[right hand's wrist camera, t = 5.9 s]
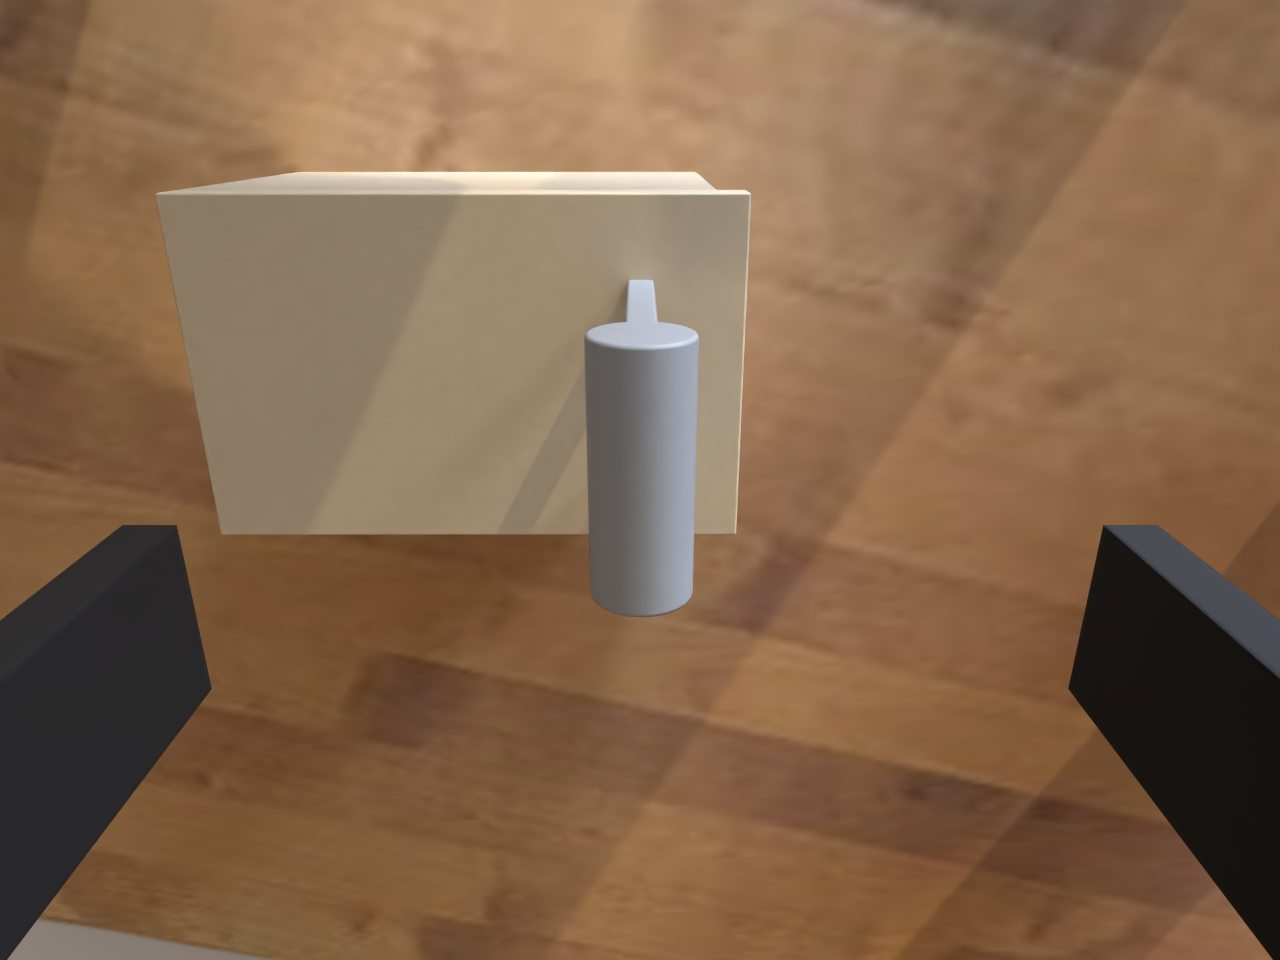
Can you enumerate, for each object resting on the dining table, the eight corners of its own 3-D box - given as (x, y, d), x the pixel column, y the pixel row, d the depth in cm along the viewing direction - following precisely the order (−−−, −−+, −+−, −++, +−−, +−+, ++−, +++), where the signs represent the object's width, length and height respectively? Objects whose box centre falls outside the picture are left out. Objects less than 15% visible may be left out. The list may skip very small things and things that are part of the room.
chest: (696, 171, 32) (717, 189, 24) (691, 425, 36) (707, 519, 27) (297, 171, 32) (176, 190, 24) (331, 425, 36) (237, 519, 27)
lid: (746, 189, 24) (807, 228, 15) (732, 519, 27) (775, 702, 19) (175, 189, 24) (-90, 229, 15) (236, 520, 27) (51, 703, 19)
